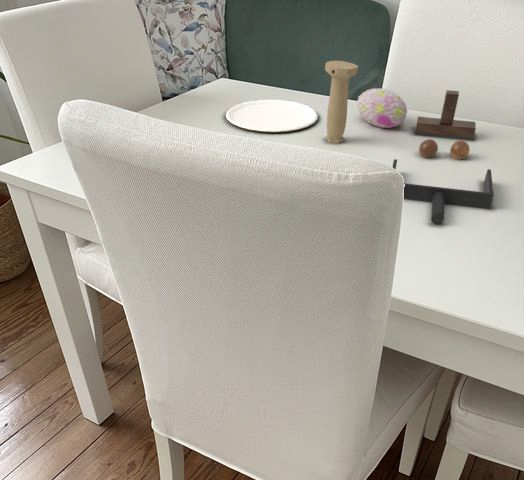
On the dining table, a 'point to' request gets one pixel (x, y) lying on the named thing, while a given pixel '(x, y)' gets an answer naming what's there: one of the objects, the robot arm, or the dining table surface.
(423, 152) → the crumb
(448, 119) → the brush
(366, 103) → the decorative item
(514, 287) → the dining table surface
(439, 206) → the dustpan
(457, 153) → the crumb
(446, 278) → the dining table surface
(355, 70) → the handle
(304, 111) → the plate
